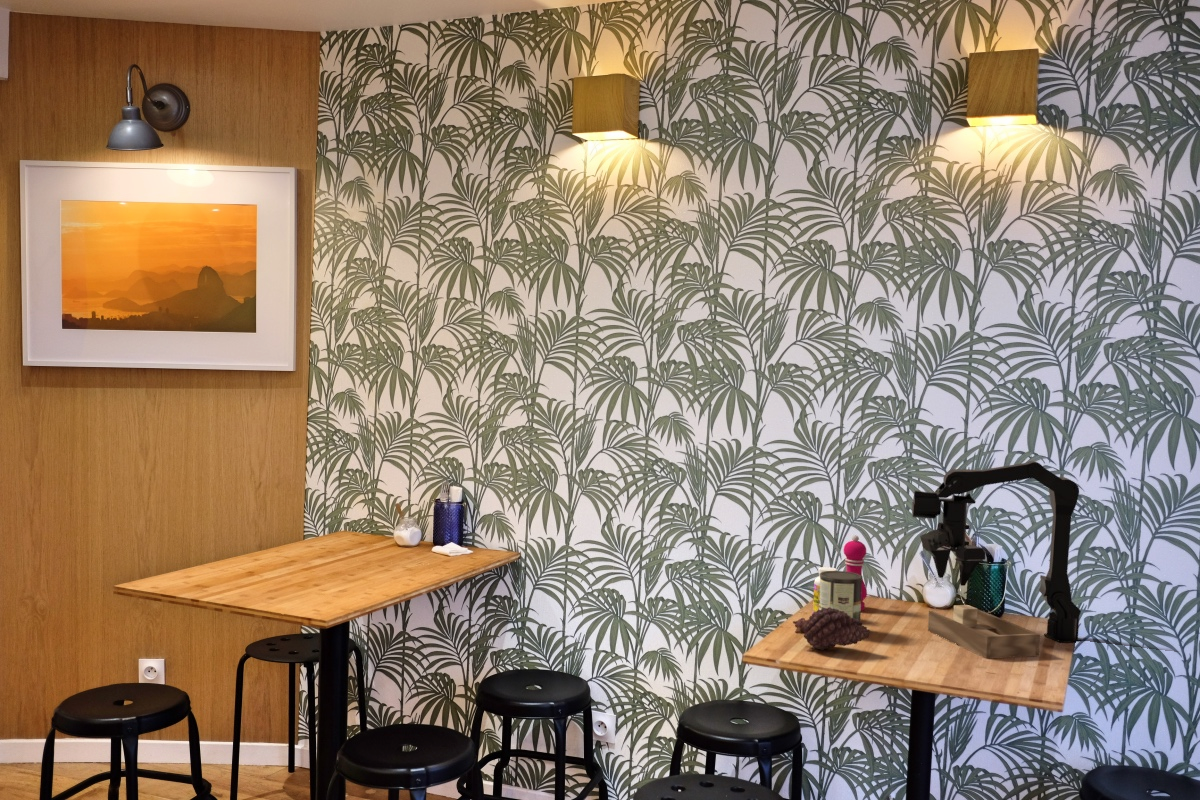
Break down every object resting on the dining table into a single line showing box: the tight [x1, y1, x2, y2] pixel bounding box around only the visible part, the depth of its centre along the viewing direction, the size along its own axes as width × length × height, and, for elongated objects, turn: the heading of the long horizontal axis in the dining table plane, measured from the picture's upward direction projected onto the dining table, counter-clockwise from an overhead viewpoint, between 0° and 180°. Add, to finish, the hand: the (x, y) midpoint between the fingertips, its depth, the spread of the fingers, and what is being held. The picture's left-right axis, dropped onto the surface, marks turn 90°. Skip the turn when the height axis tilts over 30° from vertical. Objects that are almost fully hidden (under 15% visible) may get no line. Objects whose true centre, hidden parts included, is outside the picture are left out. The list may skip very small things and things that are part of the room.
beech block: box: [952, 604, 979, 627], centre depth 260 cm, size 4×4×4 cm
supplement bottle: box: [812, 566, 838, 614], centre depth 274 cm, size 7×7×13 cm
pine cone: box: [792, 607, 871, 652], centre depth 243 cm, size 18×10×10 cm, turn 72°
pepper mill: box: [843, 534, 868, 612], centre depth 284 cm, size 7×7×20 cm
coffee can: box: [819, 570, 863, 621], centre depth 260 cm, size 10×10×14 cm
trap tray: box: [927, 609, 1041, 659], centre depth 254 cm, size 14×24×5 cm, turn 15°
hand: (951, 581), depth 265 cm, fingers open, 9 cm apart
